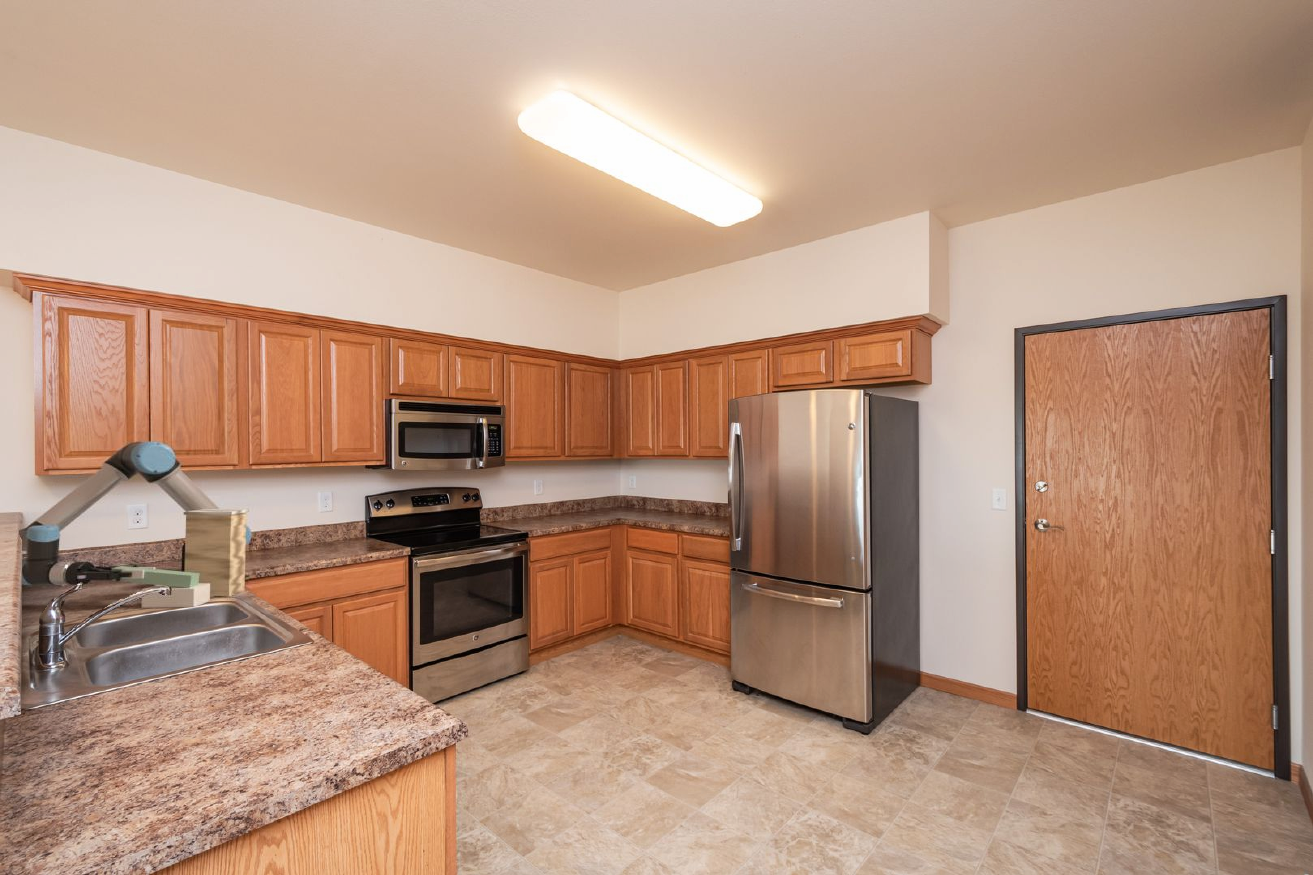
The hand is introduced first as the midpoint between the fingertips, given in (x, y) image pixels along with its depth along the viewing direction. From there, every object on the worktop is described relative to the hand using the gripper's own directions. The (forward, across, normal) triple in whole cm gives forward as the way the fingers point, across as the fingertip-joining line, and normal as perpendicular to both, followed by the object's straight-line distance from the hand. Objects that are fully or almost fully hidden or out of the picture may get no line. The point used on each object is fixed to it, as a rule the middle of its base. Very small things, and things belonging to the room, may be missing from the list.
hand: (148, 572), depth 198 cm
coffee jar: (-2, -28, -11) cm, 31 cm away
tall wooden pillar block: (+12, -15, -11) cm, 22 cm away
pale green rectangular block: (+2, 0, -3) cm, 4 cm away
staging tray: (+9, -1, -11) cm, 14 cm away
